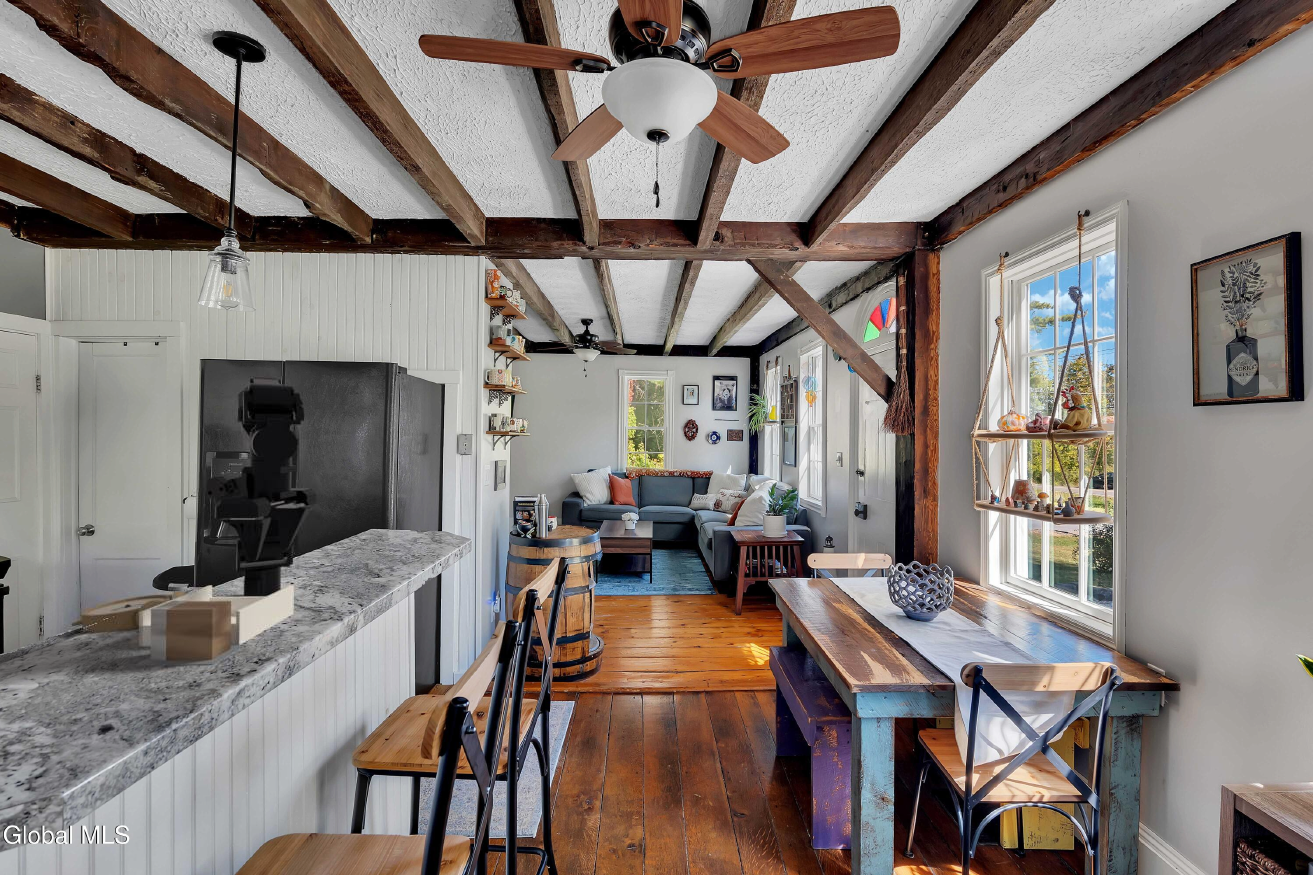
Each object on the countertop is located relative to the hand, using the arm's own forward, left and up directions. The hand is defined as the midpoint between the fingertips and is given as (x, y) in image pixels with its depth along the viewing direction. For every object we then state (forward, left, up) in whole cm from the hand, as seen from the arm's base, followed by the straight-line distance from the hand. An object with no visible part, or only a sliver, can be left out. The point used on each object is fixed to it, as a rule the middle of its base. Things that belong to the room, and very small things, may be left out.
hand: (269, 554), depth 96 cm
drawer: (+2, -6, -12) cm, 14 cm away
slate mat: (+13, -3, -12) cm, 18 cm away
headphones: (-3, -22, -12) cm, 25 cm away
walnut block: (+13, -3, -11) cm, 18 cm away
